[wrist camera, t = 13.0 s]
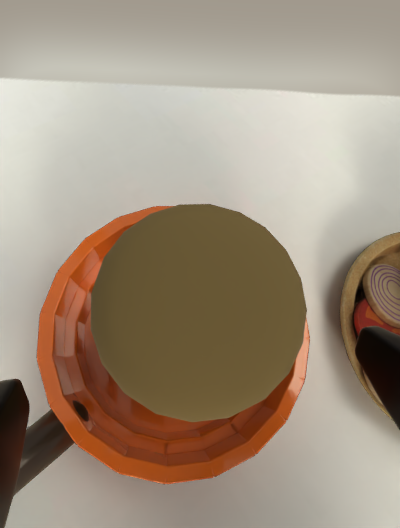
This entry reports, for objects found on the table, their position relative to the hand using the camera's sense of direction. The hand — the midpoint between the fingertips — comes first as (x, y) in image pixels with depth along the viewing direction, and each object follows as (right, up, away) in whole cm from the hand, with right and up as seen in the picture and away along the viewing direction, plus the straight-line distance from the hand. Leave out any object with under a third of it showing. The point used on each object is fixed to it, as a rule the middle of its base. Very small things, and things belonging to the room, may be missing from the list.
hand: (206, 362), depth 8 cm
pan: (-2, -1, +9) cm, 9 cm away
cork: (-1, -1, +9) cm, 9 cm away
